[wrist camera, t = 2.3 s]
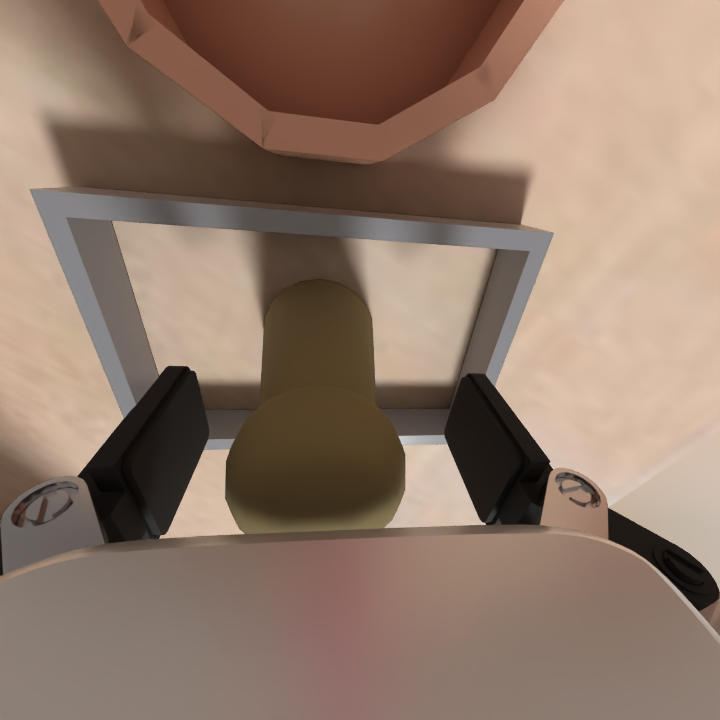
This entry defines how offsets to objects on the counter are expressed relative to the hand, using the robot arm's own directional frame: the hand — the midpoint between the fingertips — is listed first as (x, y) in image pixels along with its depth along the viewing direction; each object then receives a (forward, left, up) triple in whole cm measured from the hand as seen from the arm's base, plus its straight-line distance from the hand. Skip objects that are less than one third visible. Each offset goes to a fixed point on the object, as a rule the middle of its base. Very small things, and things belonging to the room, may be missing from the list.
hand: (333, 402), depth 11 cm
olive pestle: (-1, +1, -7) cm, 7 cm away
